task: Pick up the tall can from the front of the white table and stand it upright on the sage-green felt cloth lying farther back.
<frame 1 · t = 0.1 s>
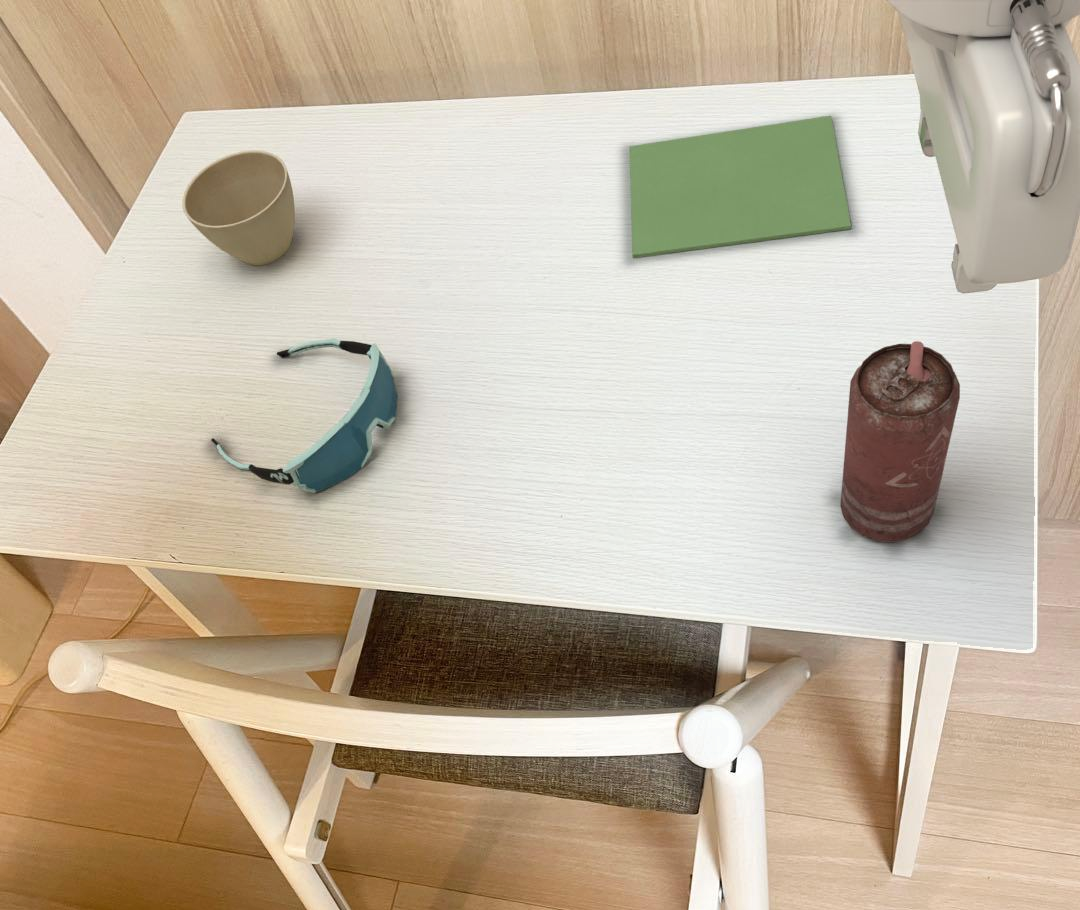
hand: (954, 210, 50), 25 cm above the table, tool pointing down, fingers open, 8 cm apart
flower pot: (268, 248, 99), on the table
can: (886, 507, 71), on the table
sunglasses: (314, 422, 86), on the table
felt cloth: (734, 187, 90), on the table
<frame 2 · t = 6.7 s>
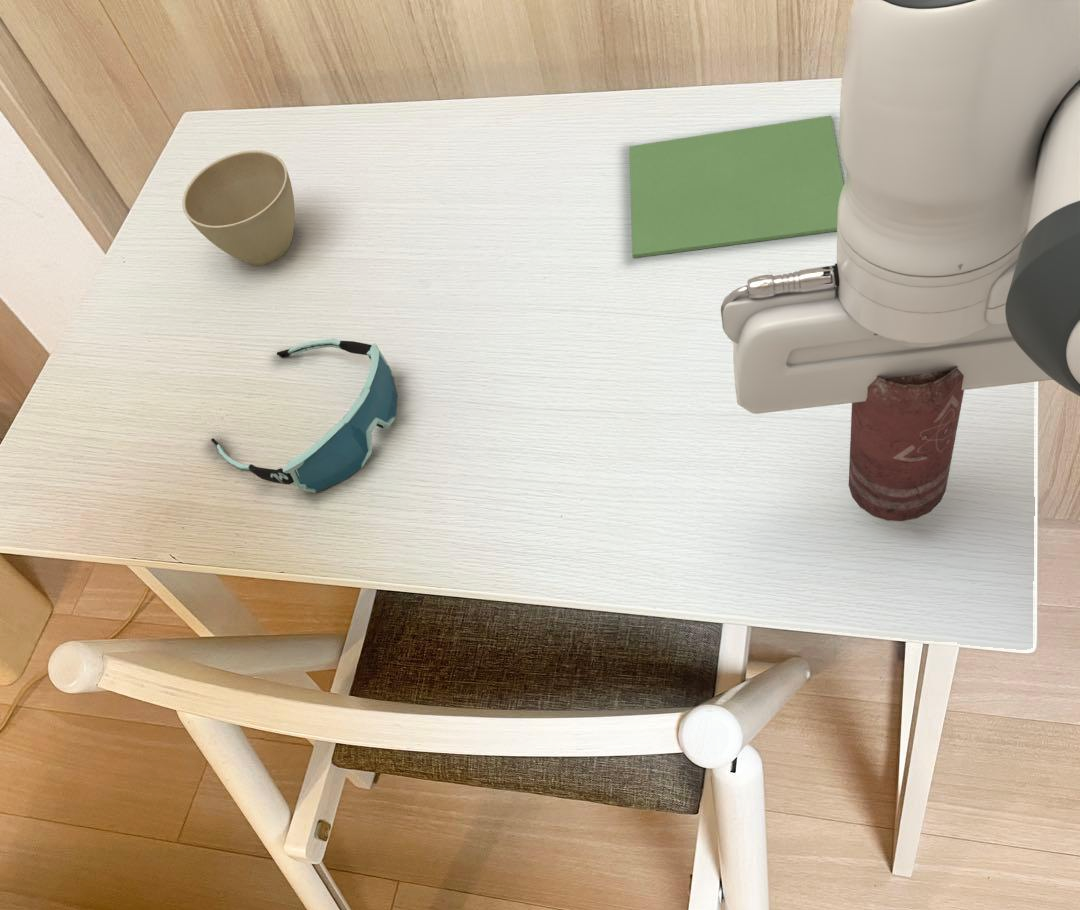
hand: (908, 423, 63), 10 cm above the table, tool pointing down, fingers closed on can
can: (896, 486, 69), point 3 cm above the table, touching gripper
everything else where it was.
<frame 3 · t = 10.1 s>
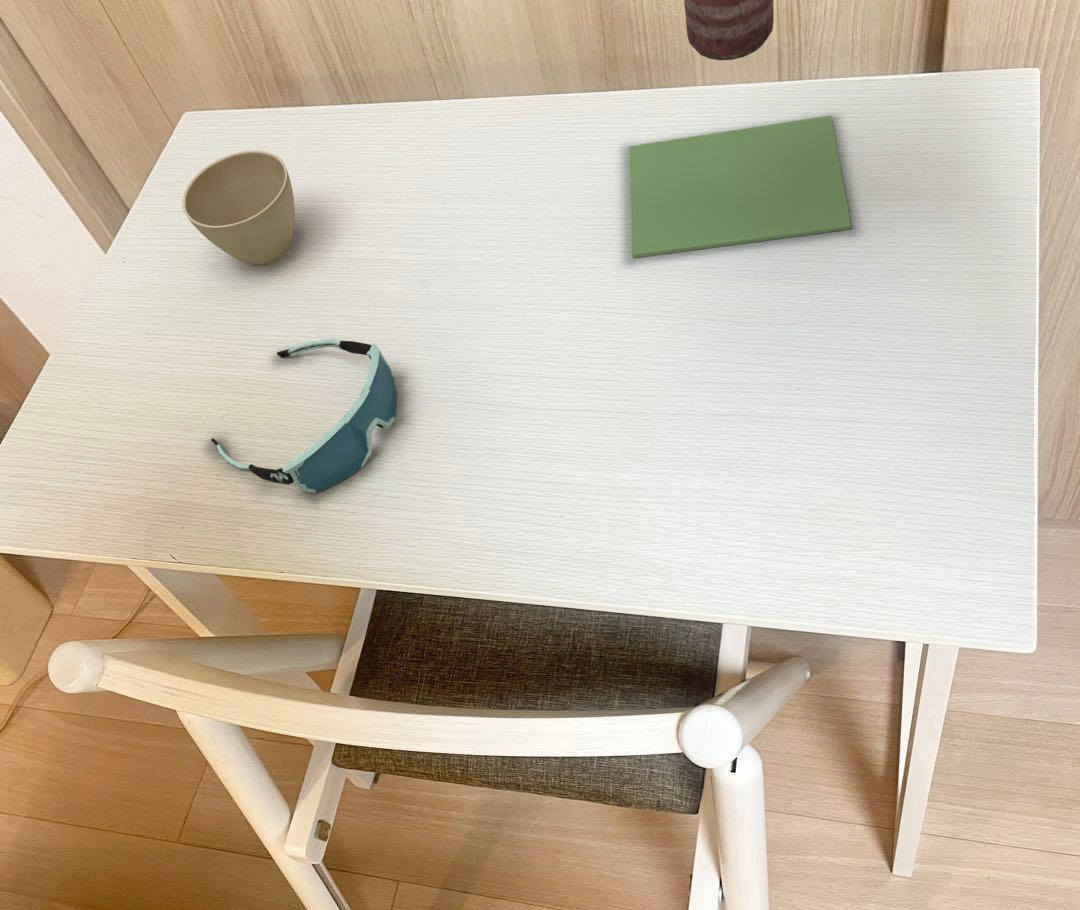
can: (730, 37, 75), point 16 cm above the table, touching gripper
everything else where it was.
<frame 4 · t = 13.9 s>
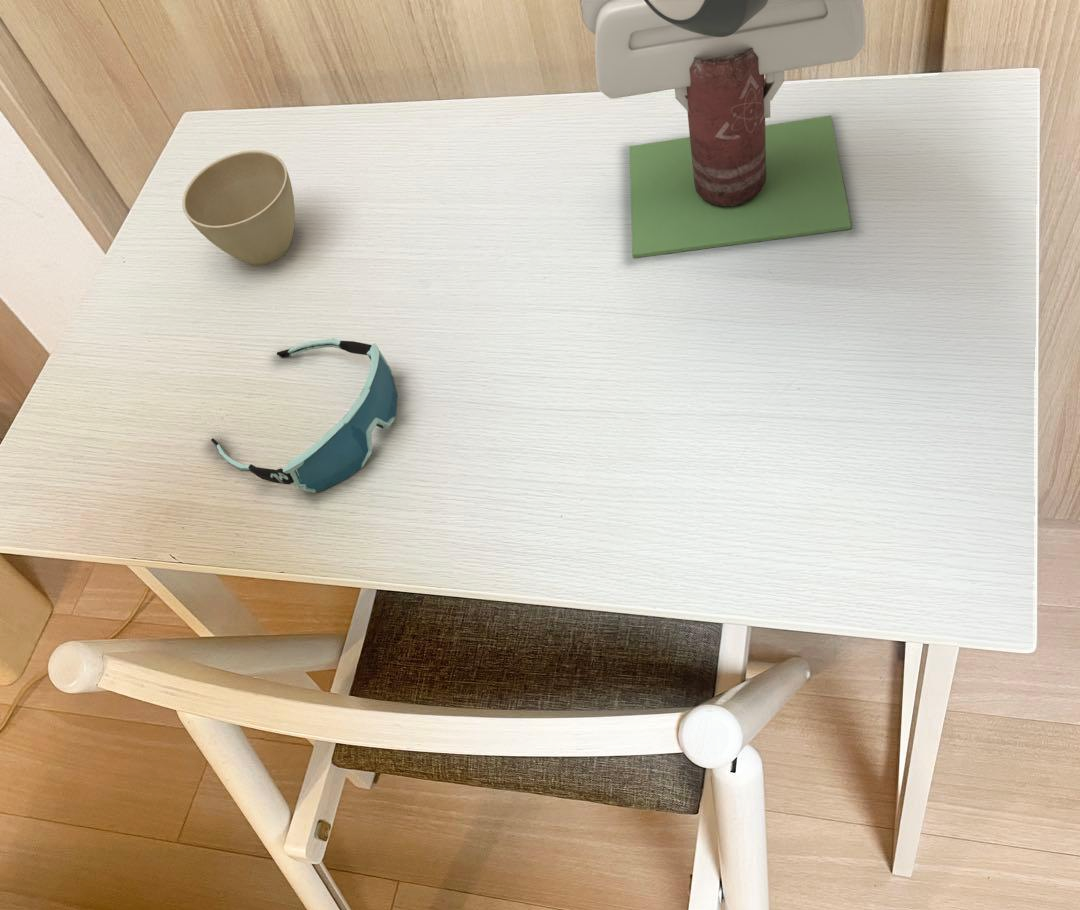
hand: (730, 118, 84), 7 cm above the table, tool pointing down, fingers open, 3 cm apart
can: (730, 186, 90), resting on felt cloth
everything else where it was.
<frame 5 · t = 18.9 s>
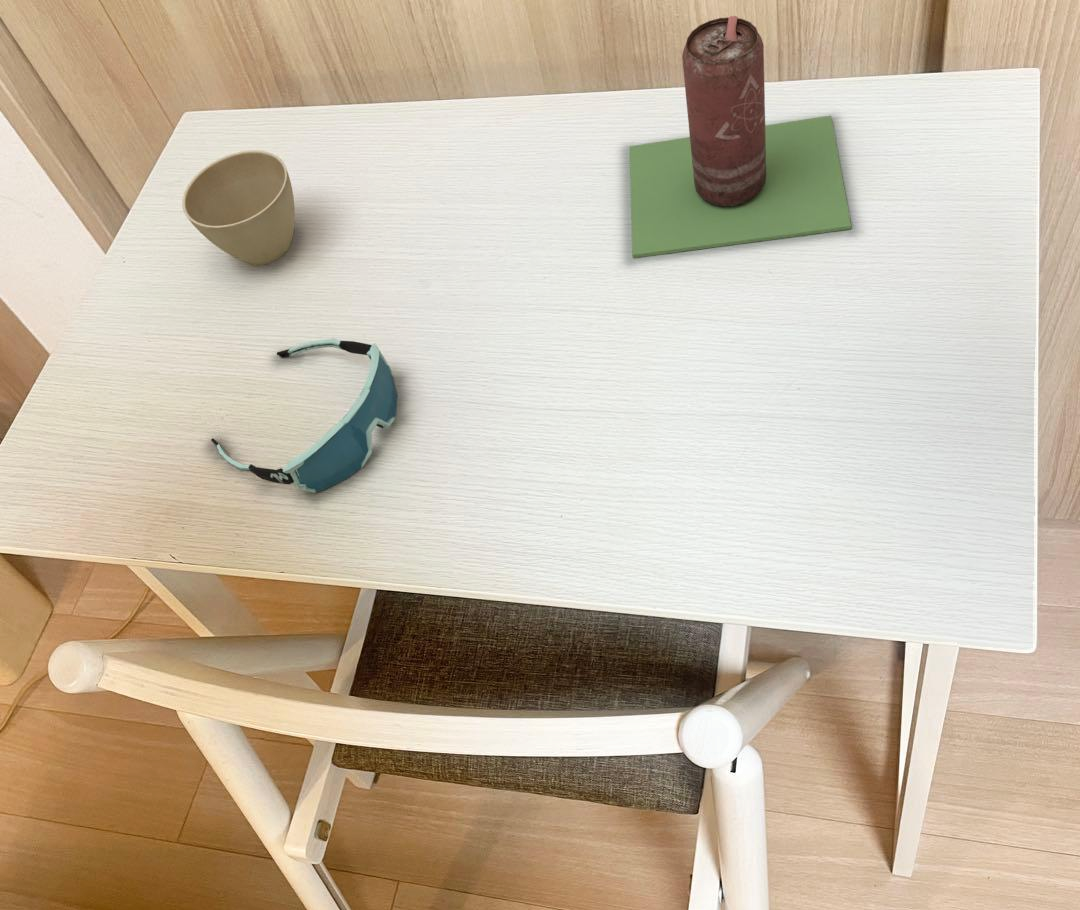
nothing on the table moved.
at the end: can inside the target area on the felt cloth (0.3 cm from its centre), point 0.2 cm above the felt cloth's base; can tilted 0°; the gripper is holding nothing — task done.
